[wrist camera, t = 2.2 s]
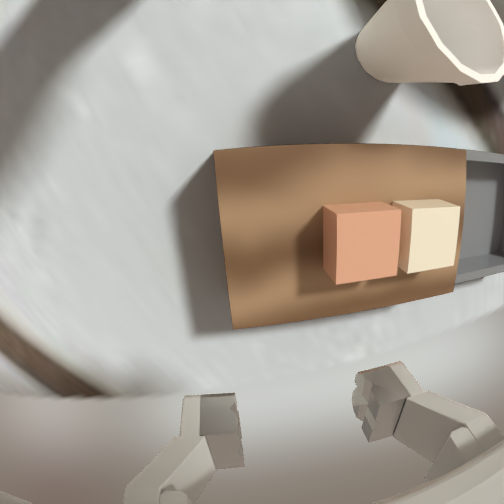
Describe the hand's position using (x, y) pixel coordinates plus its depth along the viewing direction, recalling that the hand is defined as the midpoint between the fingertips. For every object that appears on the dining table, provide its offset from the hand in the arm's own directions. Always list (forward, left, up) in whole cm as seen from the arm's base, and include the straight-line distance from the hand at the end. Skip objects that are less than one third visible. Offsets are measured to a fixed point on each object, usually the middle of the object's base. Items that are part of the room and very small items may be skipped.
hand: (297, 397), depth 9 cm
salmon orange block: (0, +8, -15) cm, 17 cm away
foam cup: (-16, +15, -21) cm, 31 cm away
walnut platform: (0, +9, -21) cm, 23 cm away
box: (0, +27, -21) cm, 35 cm away
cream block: (0, +14, -15) cm, 21 cm away
